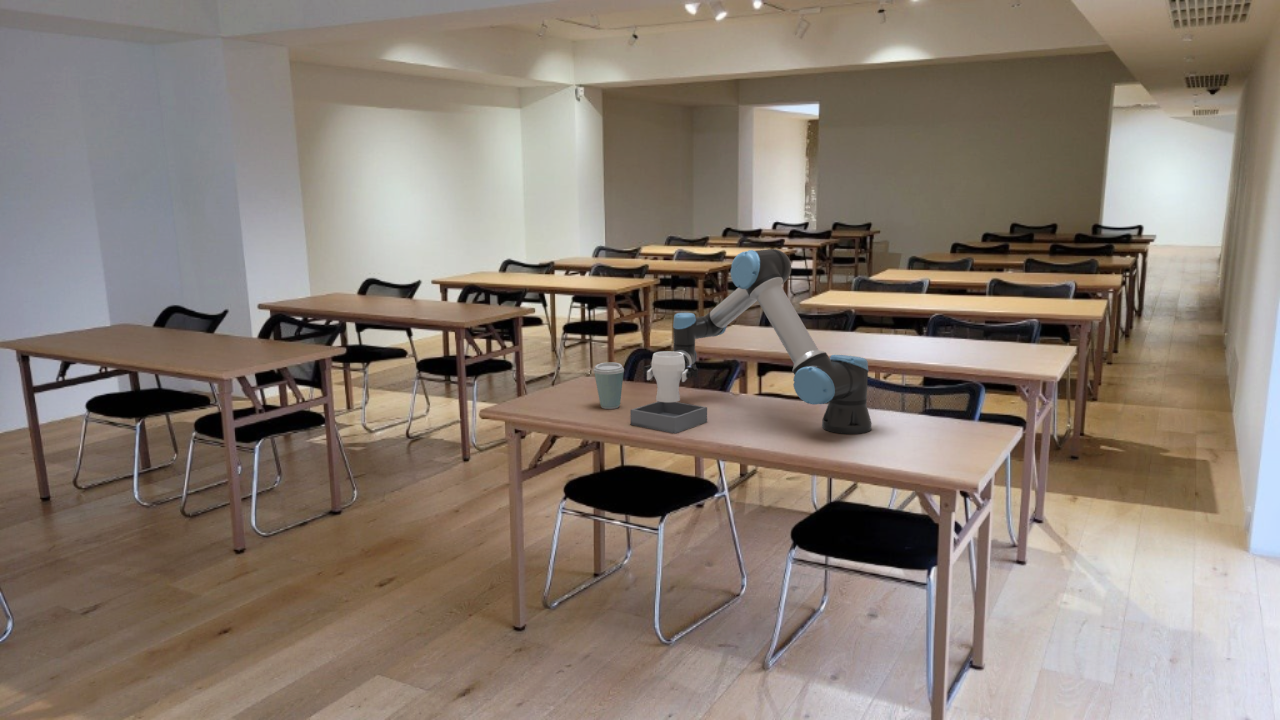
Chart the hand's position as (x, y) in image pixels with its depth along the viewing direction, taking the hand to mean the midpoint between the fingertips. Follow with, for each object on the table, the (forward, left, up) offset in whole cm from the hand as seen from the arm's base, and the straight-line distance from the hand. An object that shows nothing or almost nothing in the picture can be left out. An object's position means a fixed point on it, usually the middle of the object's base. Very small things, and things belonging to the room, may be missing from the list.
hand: (665, 376), depth 289 cm
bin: (+1, -4, -16) cm, 17 cm away
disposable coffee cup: (+31, -9, -16) cm, 36 cm away
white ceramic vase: (+2, -4, -9) cm, 10 cm away
